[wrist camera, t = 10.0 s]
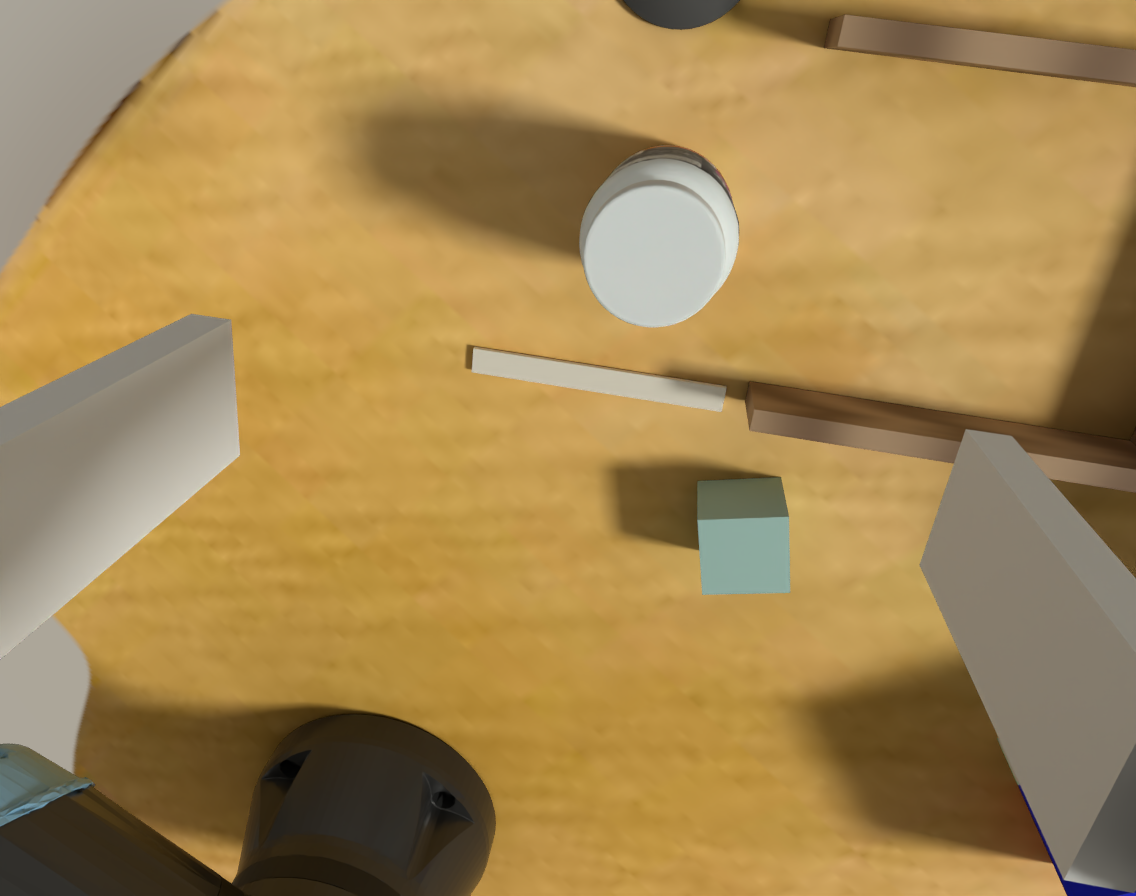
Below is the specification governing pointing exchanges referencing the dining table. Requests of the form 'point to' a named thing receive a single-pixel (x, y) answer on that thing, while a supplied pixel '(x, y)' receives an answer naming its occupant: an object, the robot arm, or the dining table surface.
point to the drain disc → (681, 11)
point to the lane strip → (598, 379)
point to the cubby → (931, 429)
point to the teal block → (743, 536)
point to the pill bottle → (659, 236)
